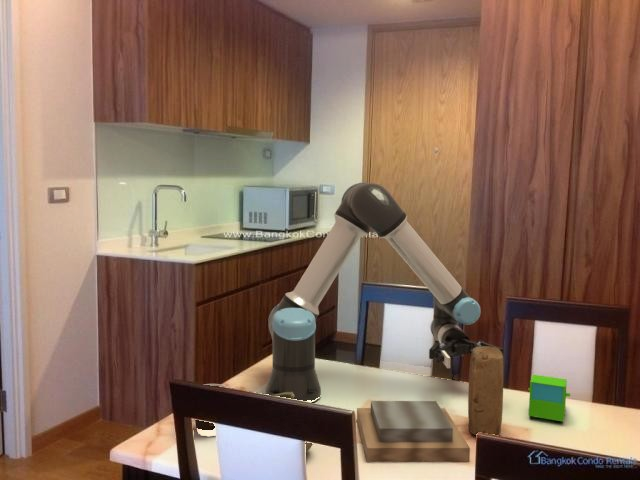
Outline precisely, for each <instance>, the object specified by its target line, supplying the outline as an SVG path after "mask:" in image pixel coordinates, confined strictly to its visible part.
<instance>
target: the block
mask: <svg viewBox="0 0 640 480" xmlns="http://www.w3.org/2000/svg"><path fill="white" fill-rule="evenodd" d="M471 352H472V353H471V355H470V360H469V371H468V373H469V374H468V395H467V396H468V399H467V400H468V401H467V406H468V407H467V411H468V413H467V415H468V416H467V417H468V422H467V423H468V429H469V431H470V433H471V434H473V435H475V436H477V435H476V434H477V433H478V432H482V433H488V434H495V435H498V436H499V435H501V431H502V425H503V423H502V422H503V406H504V405H503V404H504V358H503V354H502V353H501V351H500V349H498V348H496V347H490V346H482V347H479V346H478V347H475V348H473V350H472V351H471Z"/></svg>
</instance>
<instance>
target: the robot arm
mask: <svg viewBox="0 0 640 480" xmlns="http://www.w3.org/2000/svg"><path fill="white" fill-rule="evenodd" d="M333 216H334V219H335V220H334V221H335V222H334V224H333V226H332V227H331V229H330V230H329V232H328V234H327V235H326V237H325V238H324V240H323V242H322V243H321V245H320V247H319V248H318V250H317V252H316V253H315V255H314V256H313V258H312V260H311V262H310V263H309V264H308V267H307V268H306V270H305V271H304V273H303V275H302V276H301V278H300V280H299V281H298V282H297V284H296V286H295V287H294V289H293V290H292V291H290V292H286V293H285V294H284V296H283V297H282V299H281V300H280V302H279V303H278V304H277V305H276V306H274V308H272V310H271V311H270V313H269V316H268V320H267V321H268V324H267V325H268V331H269V333H270V335H271V340H272V369H271V372H270V375H269V377H268V381H267V384H266V387H265V395H266V394H269V395H276V394H280V393H285V392H293V394H294V396H295V397H294V399H297V400H303V401H307V400H311V401H312V400H315V399H316V398H318V397H320V395H322V388H321V385H320V382H319V378H318V375H317V372H316V366H315V364H316V330H317V324H316V323H317V322H316V320H317V318H318V317H319V315H320V311H319V305H320V303H321V302H322V300H323V299H324V297H325V296H326V294H327V292H328V291H329V289H330V288H331V286H332V284H333V282H334V280H336V278H337V276H338V274H339V273H340V271H341V269H342V268H343V266H344V264H345V263H346V261H347V259H348V258H349V256H350V255H351V253H352V252H353V250H354V249H355V246H356V245H357V243H358V242H359V241H360V239H361V238H363V237H367V236H368V235H369V234H370V233H371V231H374V233H375V234H376V235H377V236H378V237H379V239H385V240H386V241H387V242H388V243H389V244H390V246H391V247H392V248H393V249H394V250H395V252H396V253H397V254H398V255H399V256H400V257H401V258H402V260H403V261H404V262H405V263H406V265H408V266H409V268H410V269H411V270H412V272H413V273H414V274H415V275H416V277H418V279H419V280H420V281H421V282H422V284H424V286H425V287H426V288H427V289H428V291H429V292H430V293H431V294H432V295H433V318H432V321H431V323H430V327H429V328H430V333H431V334H432V337H433V338H434V339H435V340H434V344H433V345H432V346H431V347H430V348H429V350H428V359H429V360H434V359H436V360H435V362H436V363H441V362H442V363H443V365H444V366H445V367H446V369H451V357H450V356H453V357H460V356H463V355H470V356H471V353H472V350H473V348H475V347H478V346H479V347H482V346H490V347H496V348H498V349H500V351H501V353H502V354H503V359H504V358H505V348H502V347H499V346H496V345H493V344H490V343H487V342H485V341H484V340H481V339H480V340H478V342H476V341H472V340H470V337H469V335H467V333H466V332H465V331H464V330H463V329H462V328H461V327H460V326H459V324H461V325H468V326H470V325H472V324H474V323H476V322H477V321H478V320H479V318H480V316H481V313H482V311H481V306H480V304H479V303H478V301H476V300H475V298H472V297H470V296H469V294H467V292H466V290H464V289H463V287H462V286H461V285H460V284H459V282H458V281H457V279H456V278H454V276H453V275H452V274H451V272H449V270H448V269H447V268H446V267H445V265H444V264H443V263H442V262H441V261H440V260H439V258H438V257H437V256H436V254H435V253H434V252H433V250H431V248H429V246H428V245H427V244H426V242H425V241H424V240H423V239H422V238H421V236H420V235H419V233H417V231H416V230H415V229H414V228H413V227H412V225H410V223H409V222H408V215H407V213H406V212H405V211H404V210H403V209H402V207H401V206H400V205H399V204H398V201H396V199H395V198H394V197H393V196H392V194H391V193H390V192H389V191H388V190H387V188H385V187H384V186H382V185H381V184H378V183H373V182H365V181H363V182H362V181H361V182H358V183H354V184H352V185H351V186H349V187H348V188H346V190H345V191H344V193H343V195H342V197H341V202H340V204H339V206H338V208H337V209H336V211H335V213H334V215H333ZM280 397H286V398H291V397H290V396H289V395H283V396H280ZM320 398H321V397H320Z"/></svg>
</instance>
